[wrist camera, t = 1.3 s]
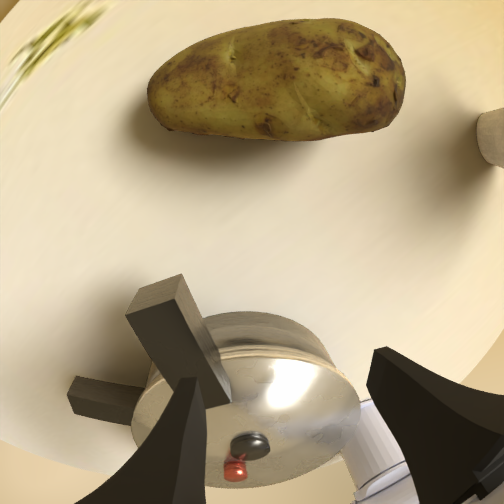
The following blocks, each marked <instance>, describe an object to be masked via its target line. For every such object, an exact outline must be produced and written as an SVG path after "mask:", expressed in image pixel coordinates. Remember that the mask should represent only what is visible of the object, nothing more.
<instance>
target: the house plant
mask: <svg viewBox="0 0 504 504" xmlns="http://www.w3.org/2000/svg"><path fill="white" fill-rule="evenodd" d="M476 135H477V142H478V146H479V149H480V152H481V154H482V156H483V157H484V159H485V160H486V161H487V162H488V163H491V164H493V165H496V166H499V167H501V168H504V108H500V109H497V110H493V111H489V112H486V113H483V114H481V116H480V117H479V119H478V122H477V128H476Z"/></svg>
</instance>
